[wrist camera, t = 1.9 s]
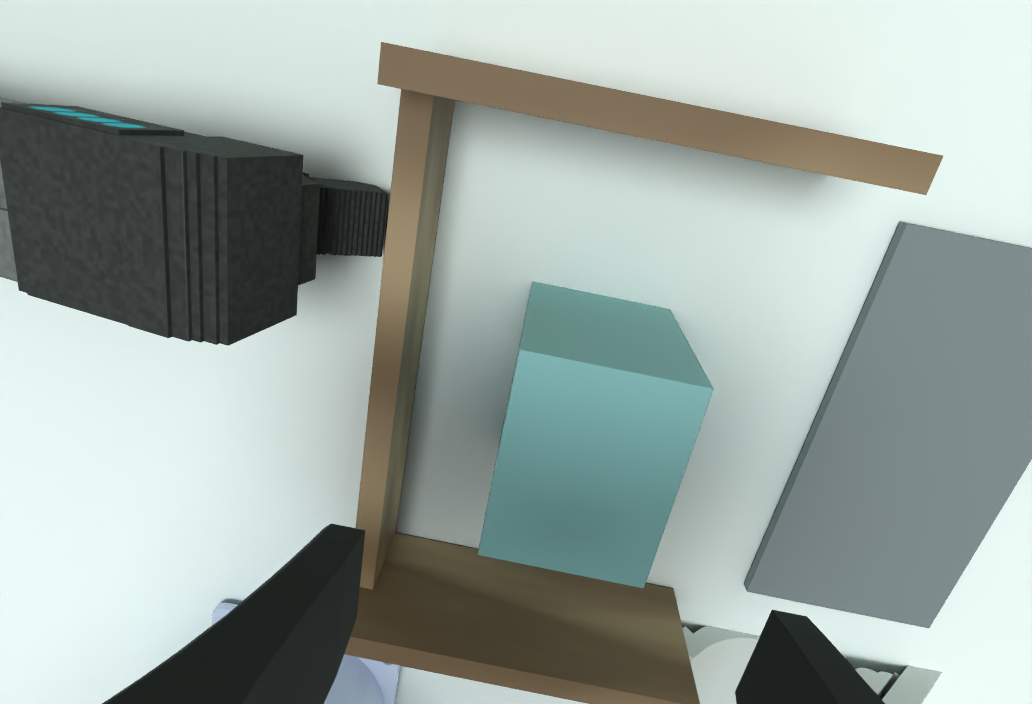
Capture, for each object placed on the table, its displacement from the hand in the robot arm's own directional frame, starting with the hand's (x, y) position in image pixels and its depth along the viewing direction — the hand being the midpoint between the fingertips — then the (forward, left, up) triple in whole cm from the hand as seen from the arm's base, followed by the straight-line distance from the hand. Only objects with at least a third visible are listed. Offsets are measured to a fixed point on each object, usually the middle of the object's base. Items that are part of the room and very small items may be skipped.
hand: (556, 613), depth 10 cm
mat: (0, -12, -10) cm, 16 cm away
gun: (+4, +17, -11) cm, 20 cm away
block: (0, -1, -10) cm, 11 cm away
